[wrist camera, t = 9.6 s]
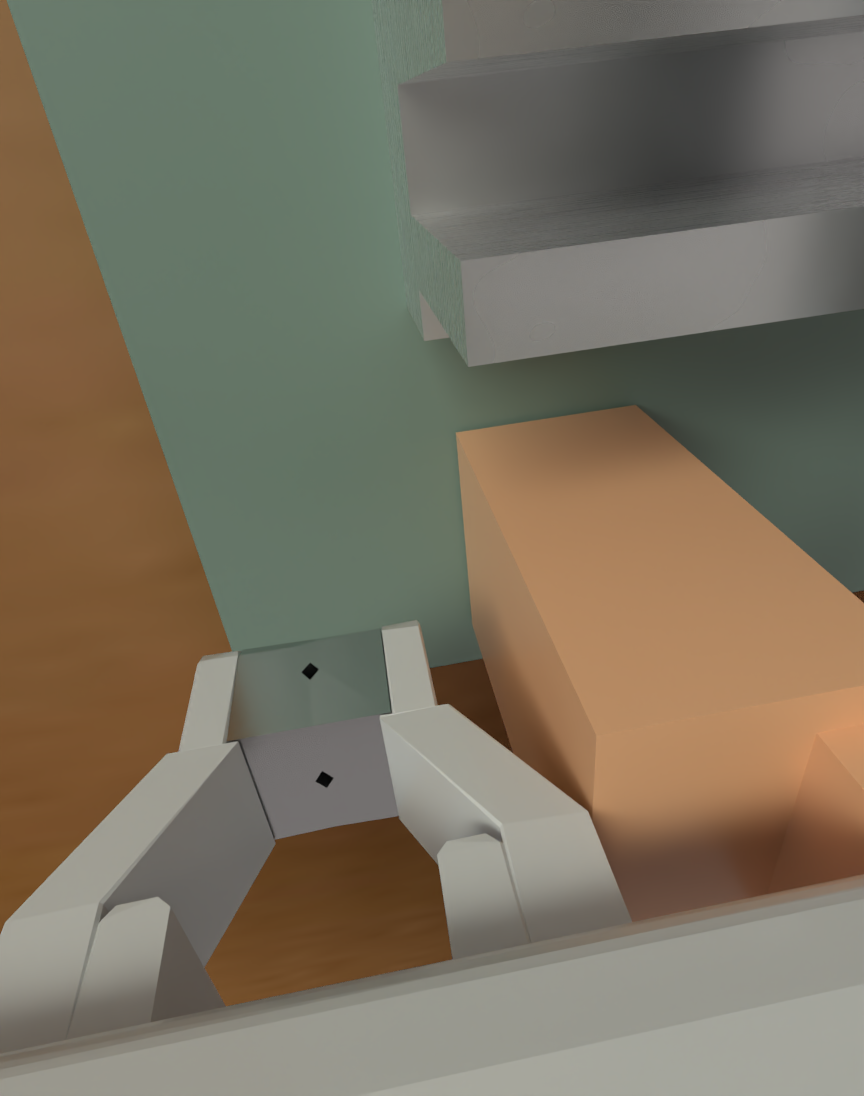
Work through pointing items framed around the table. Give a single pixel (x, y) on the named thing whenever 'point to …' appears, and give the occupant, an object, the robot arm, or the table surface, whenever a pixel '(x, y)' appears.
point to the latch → (666, 659)
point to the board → (362, 327)
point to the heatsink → (622, 167)
